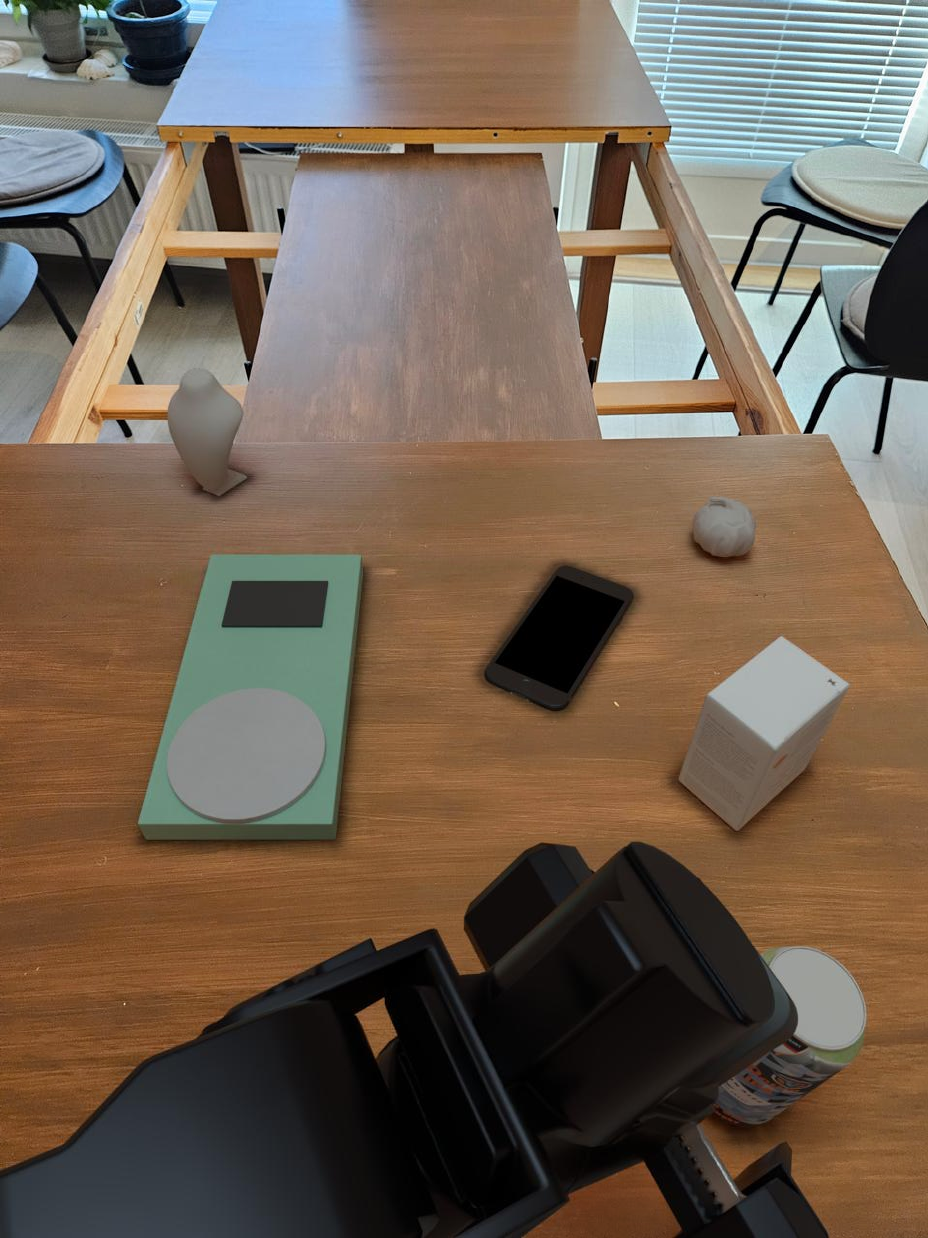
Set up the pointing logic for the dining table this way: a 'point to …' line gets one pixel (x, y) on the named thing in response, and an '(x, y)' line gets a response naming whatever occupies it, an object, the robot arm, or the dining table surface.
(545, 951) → the robot arm
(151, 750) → the dining table surface
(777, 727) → the small box
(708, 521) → the garlic
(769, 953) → the beverage can
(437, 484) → the dining table surface
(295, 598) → the scale
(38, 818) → the dining table surface
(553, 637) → the smartphone
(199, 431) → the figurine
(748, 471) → the dining table surface
